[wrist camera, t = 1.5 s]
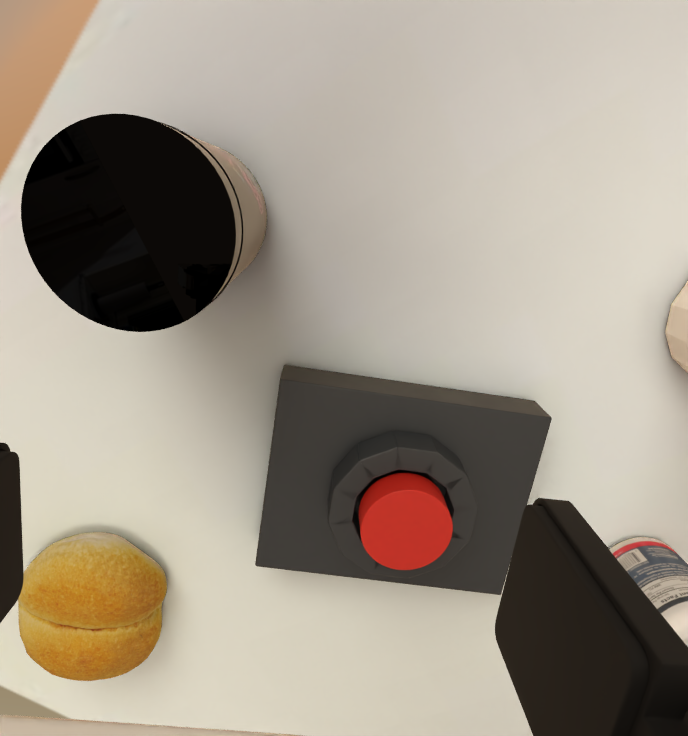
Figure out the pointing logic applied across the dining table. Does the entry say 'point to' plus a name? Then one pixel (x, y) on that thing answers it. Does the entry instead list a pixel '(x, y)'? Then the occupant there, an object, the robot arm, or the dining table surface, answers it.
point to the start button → (404, 521)
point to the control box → (396, 455)
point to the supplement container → (139, 221)
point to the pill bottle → (658, 578)
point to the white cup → (679, 328)
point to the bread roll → (91, 607)
